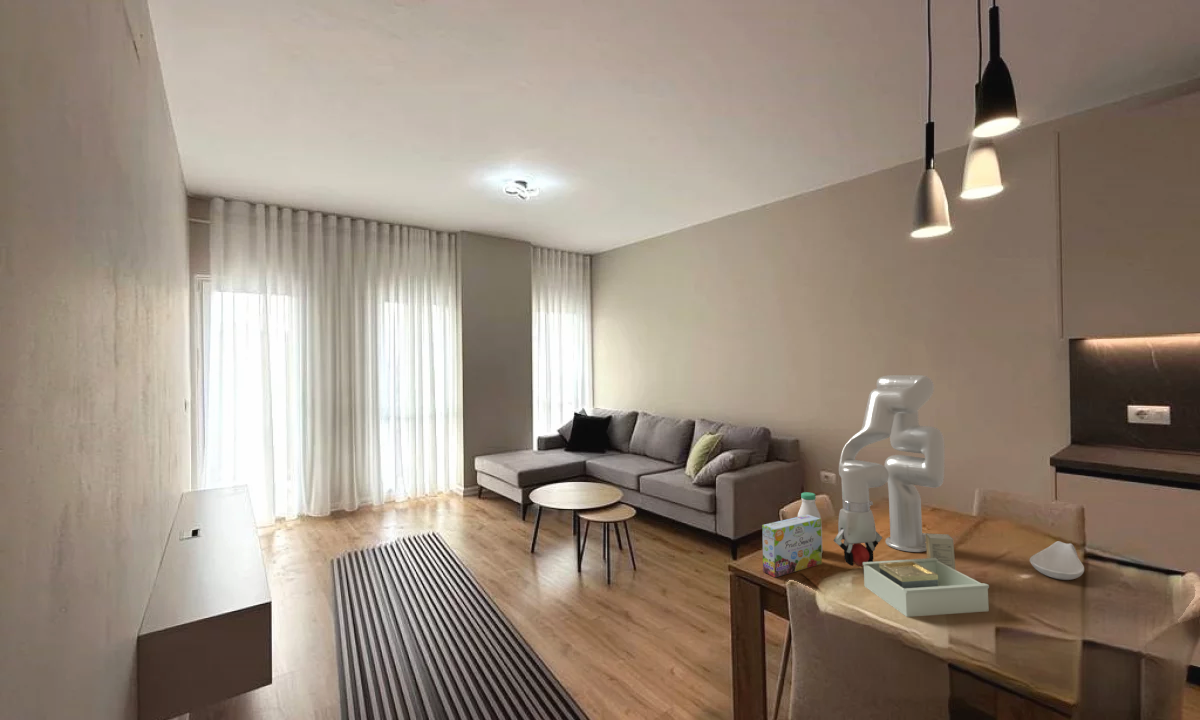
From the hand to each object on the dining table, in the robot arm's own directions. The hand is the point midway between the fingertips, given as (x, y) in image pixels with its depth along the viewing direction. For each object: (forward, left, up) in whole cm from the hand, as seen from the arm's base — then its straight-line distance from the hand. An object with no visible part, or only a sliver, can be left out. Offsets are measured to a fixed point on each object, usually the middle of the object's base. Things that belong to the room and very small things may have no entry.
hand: (859, 562), depth 151 cm
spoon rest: (-58, +9, -3) cm, 59 cm away
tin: (0, +21, -1) cm, 21 cm away
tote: (-4, +21, -2) cm, 22 cm away
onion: (0, 0, -1) cm, 1 cm away
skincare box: (-20, +8, -2) cm, 22 cm away
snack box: (+20, -4, -2) cm, 20 cm away
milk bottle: (+8, -16, -2) cm, 18 cm away
